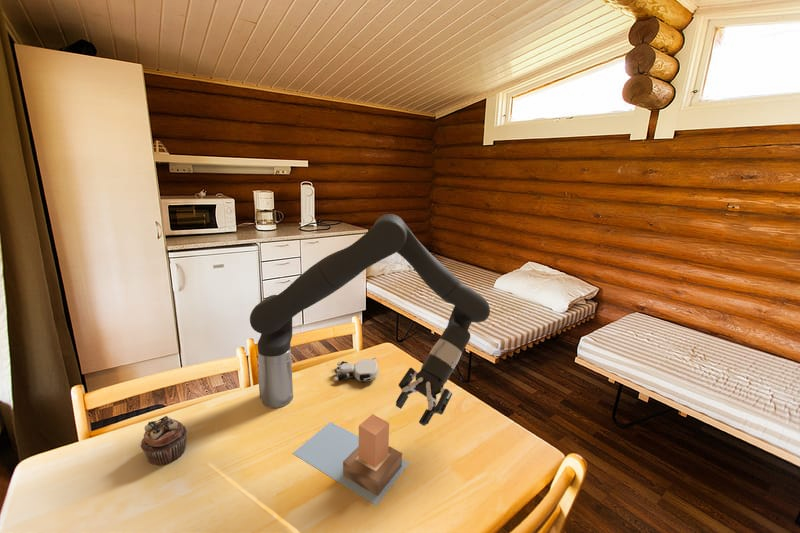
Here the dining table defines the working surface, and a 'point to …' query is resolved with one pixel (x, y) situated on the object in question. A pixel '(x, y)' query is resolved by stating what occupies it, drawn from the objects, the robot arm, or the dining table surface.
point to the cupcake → (164, 441)
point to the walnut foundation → (372, 470)
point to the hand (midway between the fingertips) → (409, 415)
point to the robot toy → (357, 370)
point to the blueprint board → (338, 458)
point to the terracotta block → (373, 440)
